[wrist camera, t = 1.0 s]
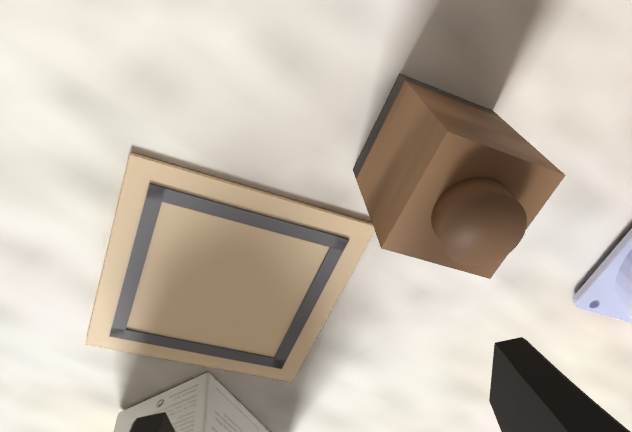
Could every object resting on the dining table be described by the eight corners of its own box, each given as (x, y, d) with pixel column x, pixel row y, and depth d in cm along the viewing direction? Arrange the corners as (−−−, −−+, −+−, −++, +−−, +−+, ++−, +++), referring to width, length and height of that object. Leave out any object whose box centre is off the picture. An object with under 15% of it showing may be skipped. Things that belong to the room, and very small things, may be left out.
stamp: (492, 110, 19) (584, 192, 13) (439, 197, 20) (503, 299, 15) (399, 73, 17) (460, 147, 12) (352, 169, 19) (389, 269, 14)
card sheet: (376, 224, 21) (377, 228, 20) (292, 378, 25) (292, 383, 25) (130, 152, 18) (129, 156, 18) (86, 341, 23) (84, 346, 22)
